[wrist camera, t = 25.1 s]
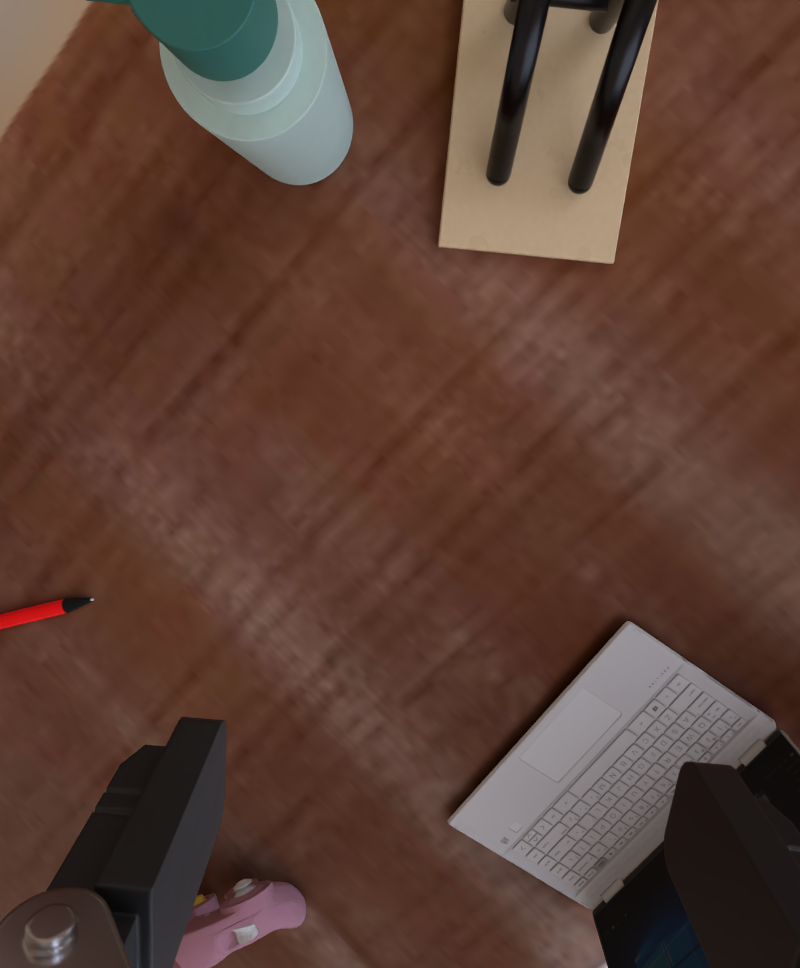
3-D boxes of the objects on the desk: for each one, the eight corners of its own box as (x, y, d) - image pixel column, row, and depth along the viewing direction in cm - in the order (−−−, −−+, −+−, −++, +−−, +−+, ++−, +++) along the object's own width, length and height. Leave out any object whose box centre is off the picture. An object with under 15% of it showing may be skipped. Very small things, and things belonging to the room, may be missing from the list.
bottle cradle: (609, 263, 37) (674, 259, 28) (437, 246, 36) (447, 237, 28) (658, -26, 33) (750, -137, 24) (467, -46, 33) (490, -166, 24)
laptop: (624, 614, 42) (717, 756, 30) (777, 720, 44) (923, 896, 32) (445, 815, 46) (459, 1013, 34) (591, 904, 48) (656, 1122, 36)
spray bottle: (356, 140, 38) (319, 378, 30) (244, 129, 38) (178, 365, 30) (360, -286, 24) (290, -44, 16) (181, -306, 24) (26, -72, 16)
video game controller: (293, 845, 49) (252, 886, 42) (316, 912, 48) (278, 966, 41) (170, 891, 50) (112, 939, 44) (190, 958, 49) (134, 1017, 43)
